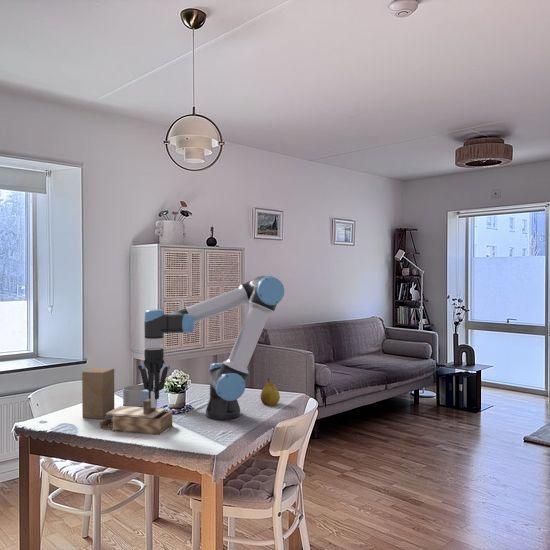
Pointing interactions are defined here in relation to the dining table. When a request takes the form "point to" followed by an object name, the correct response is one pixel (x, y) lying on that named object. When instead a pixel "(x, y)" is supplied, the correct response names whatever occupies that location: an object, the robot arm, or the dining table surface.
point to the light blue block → (145, 395)
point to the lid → (137, 411)
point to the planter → (133, 395)
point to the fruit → (270, 394)
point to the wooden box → (143, 424)
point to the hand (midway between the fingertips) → (153, 407)
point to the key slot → (106, 423)
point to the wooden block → (97, 392)
